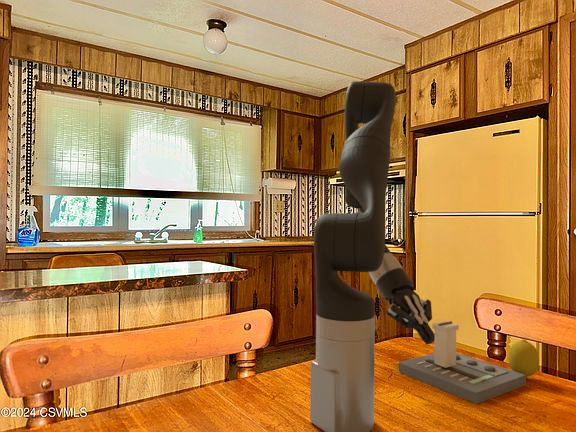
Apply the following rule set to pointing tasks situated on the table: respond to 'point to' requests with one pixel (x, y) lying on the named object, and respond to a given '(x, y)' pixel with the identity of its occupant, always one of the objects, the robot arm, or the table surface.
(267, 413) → the table surface
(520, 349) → the lemon
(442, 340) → the fader knob
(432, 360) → the console
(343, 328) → the robot arm
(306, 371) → the table surface
